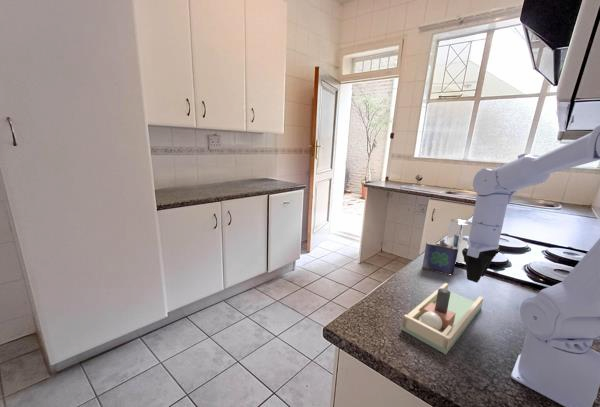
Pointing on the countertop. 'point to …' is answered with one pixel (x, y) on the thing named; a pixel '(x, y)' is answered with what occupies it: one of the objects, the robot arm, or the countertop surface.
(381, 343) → the countertop surface
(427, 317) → the ball
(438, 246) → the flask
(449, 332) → the pitch
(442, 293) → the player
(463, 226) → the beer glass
